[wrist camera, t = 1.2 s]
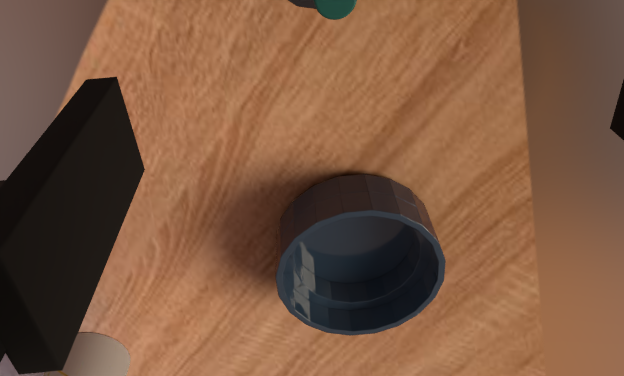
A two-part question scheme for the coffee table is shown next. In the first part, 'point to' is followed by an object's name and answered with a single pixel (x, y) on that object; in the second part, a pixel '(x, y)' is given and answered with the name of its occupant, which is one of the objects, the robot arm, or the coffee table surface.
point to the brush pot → (304, 3)
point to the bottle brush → (334, 8)
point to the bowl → (357, 256)
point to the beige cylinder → (95, 357)
